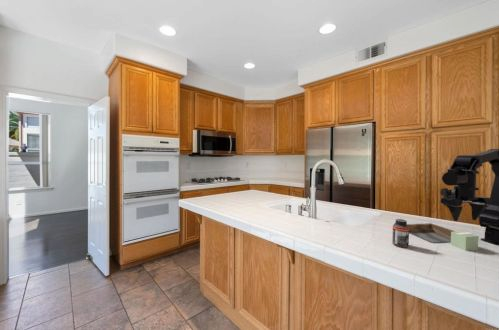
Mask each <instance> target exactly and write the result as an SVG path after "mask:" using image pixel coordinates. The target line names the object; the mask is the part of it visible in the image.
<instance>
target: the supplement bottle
mask: <svg viewBox="0 0 499 330" xmlns="http://www.w3.org/2000/svg"><path fill="white" fill-rule="evenodd" d="M406 224H408V222H407V220H406V219H401V218H396V219H395V222H394V224H393V225H392V244H393V246H395V247H398V248H408V247H409V244H410V233H409V227H408V226H407V225H406Z"/></svg>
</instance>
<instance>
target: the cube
mask: <svg viewBox="0 0 499 330" xmlns="http://www.w3.org/2000/svg"><path fill="white" fill-rule="evenodd" d="M454 231H455V230H454ZM450 246H452V247H455V248H458V249H460V250H463V251H465V252H466V251H467V252H468V251H478V249H479V235H476V234H473V233H471V232H467V231H464V230H463V231H462V230H461V231H460V230H458V231H457V230H456V231H455V232H451V242H450Z"/></svg>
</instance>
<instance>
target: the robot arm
mask: <svg viewBox="0 0 499 330" xmlns="http://www.w3.org/2000/svg"><path fill="white" fill-rule="evenodd" d="M484 163H489V165H490V166H491V171H492V172H493V174H494V179H493V184H492V187H491V192H490V197H487V196H480V195H476V194H477V193H476V192H477V191H479V190H480V187H477V175H480V171H479V170H478V169H479V168H482V166H483V164H484ZM441 180H442V183H444V185H446V186H453V189H448V188H445V187H444V188H440V190H439V191H440V192H439V193H440V196H442V197H441V198H440V204H442V205H443V206H446V207H447V208H448V210H449V212H450V214H451V217H452V220H453V221H455V222H458V220H459V218H460V215H461V213H462V210H463V206H462V205H463V204H467V203H468V204H469V206H470V209H471V219H472V220H473V221H476V220H478V221H479V226H480V228H484V237H482V238H480V240H481V241H484V242H486V243H490V244H493V245H497V246H499V148H489V149H487V150H485V151H481V152H478V153H475V154H459V155H457V156H456V157H455V159H454V160H453V162H452V164H451V165H450V167H449V169H447V172H445V173H443V174H442V177H441Z"/></svg>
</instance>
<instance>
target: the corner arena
mask: <svg viewBox="0 0 499 330" xmlns="http://www.w3.org/2000/svg"><path fill="white" fill-rule="evenodd" d="M406 225H407V226H408V227H409V235H412V236H414V237H417V238H419V239H422V240H424V241H427V242H429V243H431V244H440V243H451V232H455V230H453V229H449V228H447V227H444V226H440V225H437V224H434V223H432V222H429V223H427V222H426V223H407V224H406Z"/></svg>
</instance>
